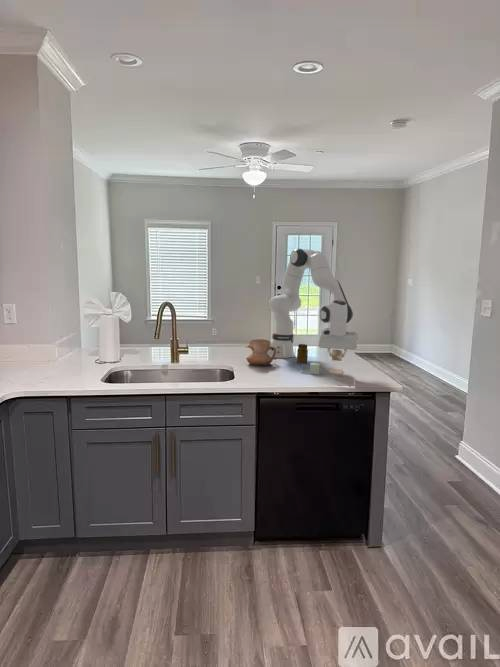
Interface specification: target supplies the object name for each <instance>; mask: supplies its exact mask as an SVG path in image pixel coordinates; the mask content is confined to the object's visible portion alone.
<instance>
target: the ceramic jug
mask: <svg viewBox="0 0 500 667" xmlns="http://www.w3.org/2000/svg"><path fill="white" fill-rule="evenodd" d="M270 343H271V339H264V338H257V339H256V338H255V339H254V338H253V339H249V344H246V345H245V348H246V349H247V348H249V349H250V350H251V352H252V353H251V354H249V355H248V356H247V357H246V358H245V359H246V361H247V363H248V364H250V365H253V366H256V367H257V366H259V367H260V366H261V367H263V366H267V365H270V364H271V363H272V362H273V361H274V359H275V358H274V356H275V355H276V348H275V347H274V346H270ZM271 348H273V349H274V354H273V356H272V357H271V356H269V355H268V354H267V352H268V350H269V349H271Z"/></svg>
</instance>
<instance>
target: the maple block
mask: <svg viewBox="0 0 500 667" xmlns="http://www.w3.org/2000/svg"><path fill="white" fill-rule="evenodd" d="M331 349H332V352H331V353H332V357H331V361H338V362H340V361H341V362H342V360H343V357H342V353H343V349H334V348H331Z"/></svg>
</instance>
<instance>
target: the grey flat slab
mask: <svg viewBox="0 0 500 667" xmlns="http://www.w3.org/2000/svg"><path fill="white" fill-rule="evenodd" d="M300 374H301V375H311V376H312V375H313V376H314V375H315V376H329V377H339V378H340V377H342V378H343V377H344V370H343V369H337V368H335V369H334V368H321V367H320V372H319V374H310V367H305V366H304V367H302V369H301V372H300Z"/></svg>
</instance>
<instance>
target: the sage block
mask: <svg viewBox="0 0 500 667" xmlns="http://www.w3.org/2000/svg"><path fill="white" fill-rule="evenodd" d="M309 364H310V365H309V368H310V374H309V375H311V374H319V372H320V368H321V367H320V366H321V363H320V362H310V363H309Z"/></svg>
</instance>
